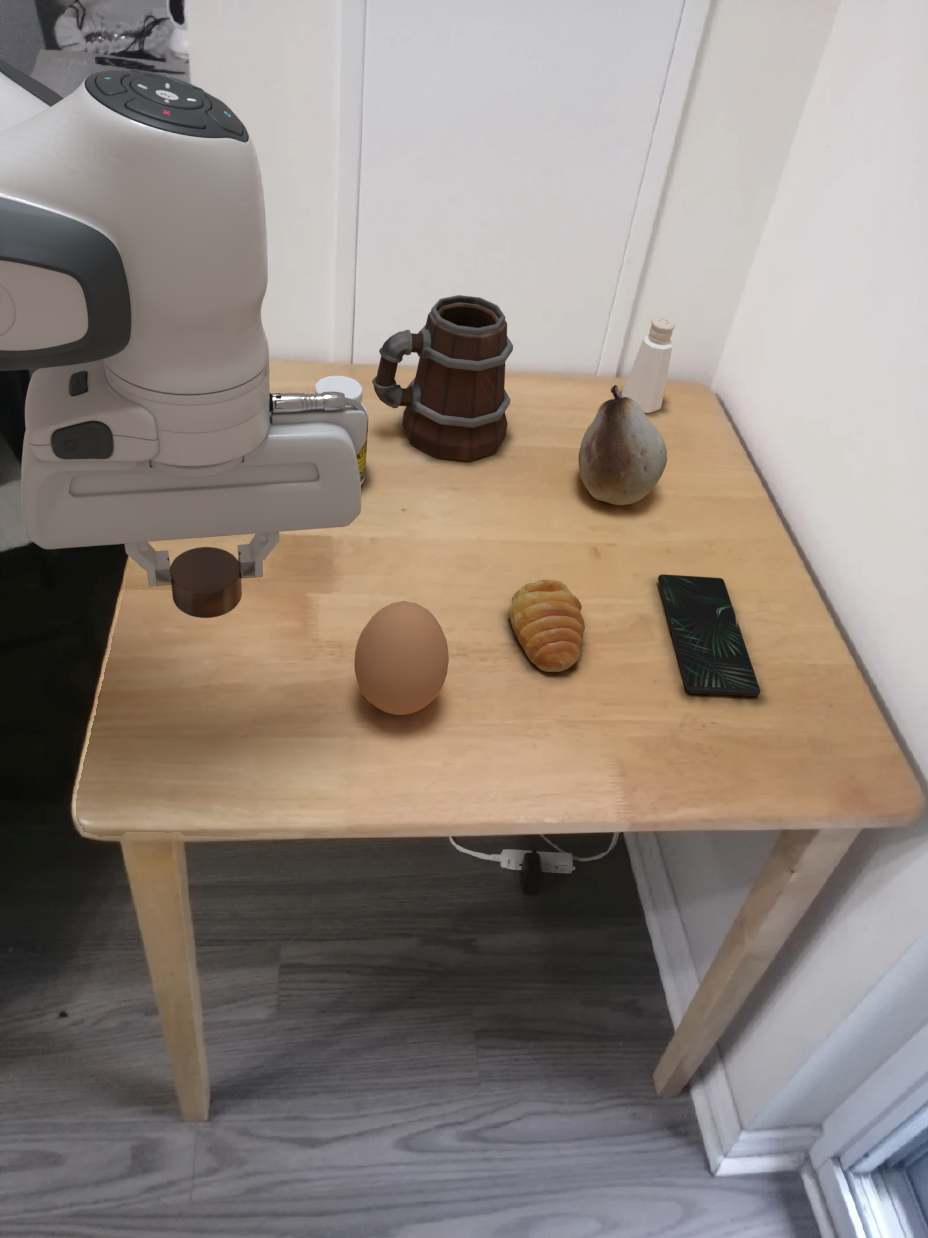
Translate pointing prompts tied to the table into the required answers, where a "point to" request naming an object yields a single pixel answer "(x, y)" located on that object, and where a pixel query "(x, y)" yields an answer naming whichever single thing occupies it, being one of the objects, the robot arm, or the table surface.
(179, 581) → the brown bottle cap
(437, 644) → the egg
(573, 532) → the table surface
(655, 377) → the pepper shaker
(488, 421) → the mug
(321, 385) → the pill bottle
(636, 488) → the fruit
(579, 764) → the table surface
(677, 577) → the smartphone
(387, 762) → the table surface
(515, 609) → the pastry
